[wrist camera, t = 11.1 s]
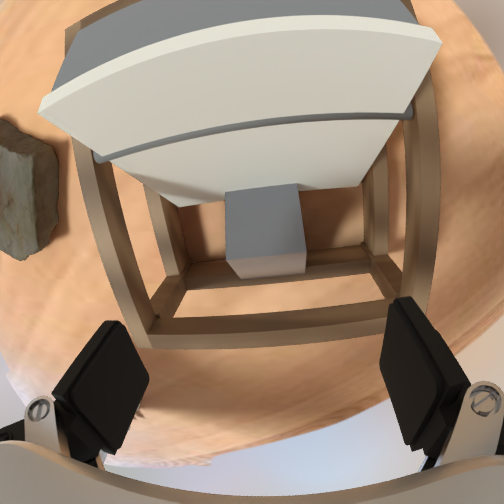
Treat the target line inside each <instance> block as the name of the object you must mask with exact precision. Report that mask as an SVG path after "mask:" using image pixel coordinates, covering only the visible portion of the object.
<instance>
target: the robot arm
mask: <svg viewBox="0 0 504 504" xmlns="http://www.w3.org/2000/svg"><path fill="white" fill-rule="evenodd" d="M380 370H381V373H382V376H383V379H384V382H385V384H386V387H387V390H388V393H389V396H390V399H391V402H392V405H393V408H394V411H395V414H396V417H397V420H398V423H399V426H400V430H401V433H402V436H403V439H404V443H405V444H406V445H410V447H411V450H412V452H413V451H416V450H419V449H422V448H423V451H424V454H425V455H426V457H425V459H424V461H423V463H422V465H421V467H420V469H419V471H418V473H415V474H411V475H408V476H405V477H401V478H397V479H393V480H390V481H386V482H381V483H377V484H372V485H368V486H363V487H357V488H352V489H346V490H341V491H334V492H326V493H318V494H308V495H295V496H264V497H263V496H232V495H219V494H208V493H201V492H193V491H186V490H180V489H174V488H169V487H164V486H159V485H155V484H150V483H146V482H142V481H138V480H134V479H131V478H127V477H123V476H120V475H116V474H114V473H111V472H107V471H105V468H104V465H103V463H104V461H105V458H106V456H107V454H108V453H109V454H112V455H115V454H116V451H117V449H119V448H121V446H122V444H123V441H124V439H125V436H126V434H127V432H128V430H130V424H131V422H132V420H133V417H134V415H135V413H136V411H138V409H139V407H140V404H141V399H142V397H143V395H144V392H145V390H146V388H147V386H148V383H149V375H148V372H147V371H146V369H145V367H144V365H143V363H142V361H141V359H140V357H139V355H138V353H137V351H136V349H135V347H134V344H133V342H132V340H131V338H130V336H129V334H128V332H127V329H126V327H125V326H124V325H122V323H121V322H120V321H110V320H107V321H104V322H103V323H102V325H101V326H100V327H99V328H98V330H97V331H96V332H95V334H94V335H93V336H92V338H91V339H90V340H89V341H88V343H87V344H86V345H85V347H84V348H83V349H82V351H81V352H80V353H79V355H78V356H77V358H76V359H75V360H74V362H73V363H72V364H71V366H70V367H69V369H68V370H67V371H66V373H65V374H64V376H63V377H62V378H61V380H60V381H59V383H58V384H57V386H56V387H55V388H54V390H53V391H52V393H51V394H52V395H53V396H54V397H55V399H56V400H55V402H53V400H52V399H51V398H50V397H48V396H40V397H37V398H35V399H33V400H32V401H31V402H30V403H29V404H28V406H27V408H26V410H25V416H24V417H25V419H23V420H20V421H18V422H16V423H13V424H11V425H8V426H6V427H3V428H1V429H0V504H504V393H503V391H502V390H501V389H500V388H499V387H498V386H497V385H496V384H494V383H491V382H487V381H481V382H477V383H475V384H473V385H471V383H470V382H469V380H468V378H467V376H466V375H465V373H464V371H463V370H462V368H461V366H460V365H459V363H458V361H457V360H456V358H455V357H454V355H453V353H452V352H451V350H450V349H449V347H448V346H447V344H446V343H445V341H444V340H443V338H442V337H441V335H440V334H439V332H438V331H437V330H435V329H434V327H433V326H432V324H431V323H430V322H429V320H428V319H427V317H426V316H425V314H424V313H423V312H422V310H421V309H420V307H419V306H418V305H417V303H416V302H415V300H414V299H413V298H412V297H411V296H406V297H400V298H395V299H394V301H393V303H391V304H389V307H388V314H387V321H386V328H385V334H384V340H383V346H382V351H381V356H380Z"/></svg>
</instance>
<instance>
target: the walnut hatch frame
mask: <svg viewBox="0 0 504 504" xmlns="http://www.w3.org/2000/svg"><path fill="white" fill-rule="evenodd" d="M139 1H142V0H118V1H116V2H114V3H112V4H110V5H108V6H106V7H104V8H102V9H100V10H98V11H96V12H94V13H92V14H90V15H89V16H87V17H85V18H83V19H82V20H80V21H78V22H77V23H75V24H73V25H72V26H70V27H68V28H67V29H65V57H66V55H67V52H68V50H69V48H70V46H71V44H72V42H73V40H74V38H75V36H76V34H77V32H78V31H80V30H81V29H83V28H85V27H87V26H89V25H90V24H92V23H94V22H96V21H98V20H100V19H102V18H104V17H106V16H108V15H110V14H112V13H114V12H116V11H118V10H121V9H123V8H125V7H127V6H130V5H132V4H135V3H137V2H139ZM400 1H401V2H402V3H403V4H404V5H405V7H406V8H407V9H408V10H409V12H410V13H411V14H412V15H413V17H414V18H415V19H416V21H417V18H416V15H415V12H414V9H413V6H412V3H411V1H410V0H400ZM417 22H418V21H417ZM410 103H411V105H412V108H413V116H412V119H411V120H402V122H403V132H404V144H405V159H406V192H407V202H406V235H405V251H404V263H403V273H402V272H401V270H400V269H399V268H398V267H397V265H396V264H395V263H394V262H393V260H392V259H391V258H390V257H389V256H388V227H389V193H388V167H387V151H386V143H385V145H384V146H383V148H382V149H381V151H380V153H379V154H378V156H377V157H376V159H375V160H374V162H373V164H372V165H371V167H370V168H369V170H368V171H367V173H366V174H365V176H364V178H363V179H362V185H363V210H364V242H361V246H352V247H343V248H333V249H324V250H314V251H307V253H306V266H305V274H296V275H286V276H275V277H265V278H254V279H243V280H241V279H240V277H239V276H238V275H237V274H236V272H235V271H234V270H233V268H232V267H231V266H230V265H229V263H228V262H227V261H226V260H216V261H206V262H195V263H193V261H192V260H189V257H188V253H187V249H186V245H185V241H184V237H183V232H182V228H181V224H180V219H179V215H178V210H177V206H176V205H175V204H174V203H172V202H170V201H169V200H167V199H166V198H164V197H163V196H161V195H160V194H158V193H157V192H155V191H154V190H152V189H151V188H149V187H148V186H146V185H145V184H143V186H144V191H145V195H146V200H147V204H148V208H149V212H150V216H151V221H152V225H153V228H154V232H155V236H156V240H157V244H158V247H159V251H160V255H161V258H162V262H163V265H164V269H165V272H166V275H167V277H166V278H165V279H164V281H163V282H162V284H161V285H160V287H159V288H158V289H157V291H156V292H155V294H154V295H153V297H152V298H151V299H150V300H149V297H148V294H147V292H146V289H145V286H144V283H143V280H142V277H141V274H140V271H139V268H138V265H137V261H136V258H135V255H134V252H133V248H132V245H131V242H130V238H129V235H128V231H127V227H126V224H125V220H124V216H123V212H122V208H121V204H120V200H119V196H118V191H117V187H116V183H115V178H114V173H113V168H112V163H111V162H110V161H107V162H104V163H101V164H99V163H97V162H96V161H95V159H94V155H93V150H92V149H90V148H89V147H87V146H86V145H84V144H82V143H81V142H79V141H78V140H76V139H75V138H73V137H72V136H71V137H72V144H73V150H74V155H75V161H76V166H77V171H78V176H79V181H80V185H81V189H82V194H83V198H84V202H85V206H86V210H87V213H88V217H89V221H90V224H91V228H92V231H93V235H94V238H95V241H96V244H97V247H98V251H99V254H100V257H101V260H102V262H103V265H104V268H105V271H106V274H107V277H108V279H109V282H110V285H111V287H112V290H113V292H114V295H115V298H116V300H117V302H118V305H119V307H120V310H121V312H122V314H123V317H124V319H125V321H126V324H127V326H128V328H129V330H130V333H131V335H132V337H133V339H134V341H135V343H136V345H137V347H138V348H151V349H238V348H259V347H274V346H287V345H298V344H309V343H318V342H327V341H335V340H342V339H350V338H356V337H363V336H369V335H376V334H381V333H385V328H386V321H387V314H388V307H389V304H391V303H393V301H394V299H395V298H400V297H406V296H411V297H412V298H413V299H414V300H415V302H416V303H417V305H418V306H419V307H420V309H421V310H422V312H423V313H424V314H425V315H426V310H427V305H428V300H429V295H430V290H431V284H432V278H433V272H434V265H435V258H436V250H437V240H438V230H439V216H440V189H441V170H440V144H439V130H438V120H437V111H436V103H435V96H434V90H433V84H432V78H431V73H430V68H429V69H428V71H427V73H426V75H425V77H424V79H423V80H422V82H421V84H420V86H419V87H418V89H417V91H416V93H415V94H414V96H413V98H412V100H411V101H410ZM365 273H370V274H371V275H372V277H373V279H374V280H375V282H376V284H377V285H378V287H379V289H380V290H381V292H382V294H383V296H384V297H385V299H383V300H376V301H370V302H362V303H355V304H347V305H339V306H331V307H323V308H314V309H304V310H294V311H283V312H271V313H259V314H245V315H229V316H210V317H184V318H173V316H174V314H175V312H176V310H177V308H178V307H179V305H180V303H181V301H182V299H183V297H184V295H185V293H186V291H187V290H200V289H214V288H227V287H239V286H251V285H262V284H273V283H284V282H294V281H304V280H313V279H322V278H331V277H340V276H349V275H357V274H365Z"/></svg>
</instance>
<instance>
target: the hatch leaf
mask: <svg viewBox="0 0 504 504" xmlns="http://www.w3.org/2000/svg"><path fill="white" fill-rule="evenodd" d="M441 45H442V41H441V40H440V39H439V37H438V36H437V34H436V33H435V32H434V30H433V29H432V28H430V27H426V26H421V25H419V23H418V22H417V21H416V19H415V18H414V17H413V15H412V14H411V13H410V12H409V10H408V9H407V8H406V7H405V5H404V4H403V3H402V2H401V1H400V0H142V1H139V2H137V3H135V4H132V5H130V6H127V7H125V8H123V9H121V10H118V11H116V12H114V13H112V14H110V15H108V16H106V17H104V18H102V19H100V20H98V21H96V22H94V23H92V24H90V25H89V26H87V27H85V28H83V29H81V30H80V31H78V32H77V34H76V36H75V38H74V40H73V42H72V44H71V46H70V48H69V50H68V52H67V55H66V57H65V59H64V61H63V64H62V66H61V68H60V71H59V73H58V75H57V78H56V81H55V83H54V86H53V88H52V91H51V93H49V94H48V95H46V96H45V97H43V99H42V102H41V105H40V108H39V111H38V114H39V115H40V116H42V117H43V118H45V119H46V120H48V121H49V122H51V123H52V124H54V125H55V126H57V127H58V128H60V129H61V130H63V131H64V132H66V133H67V134H69V135H70V136H72V137H73V138H75V139H76V140H78V141H79V142H81V143H82V144H84V145H86V146H87V147H89V148H90V149H92V150H93V155H94V159H95V161H96V162H97V163H99V164H101V163H104V162H107V161H110V162H111V163H113V164H114V165H116V166H117V167H119V168H120V169H122V170H123V171H125V172H126V173H128V174H129V175H131V176H132V177H134V178H136V179H137V180H139V181H140V182H142V183H143V184H145V185H146V186H148V187H149V188H151V189H152V190H154V191H155V192H157V193H158V194H160V195H161V196H163V197H164V198H166V199H167V200H169V201H170V202H172V203H174V204H175V205H177V206H178V207H184V206H190V205H197V204H203V203H210V202H217V201H224V200H225V192H229V191H236V190H244V189H251V188H259V187H267V186H276V185H285V184H294V183H297V188H298V191H308V190H319V189H330V188H343V187H356V186H358V185H359V184H360V182H361V181H362V179H363V178H364V176H365V174H366V173H367V171H368V170H369V168H370V167H371V165H372V164H373V162H374V160H375V159H376V157H377V156H378V154H379V153H380V151H381V149H382V148H383V146H384V145H385V143H386V141H387V140H388V138H389V137H390V135H391V133H392V132H393V130H394V128H395V127H396V125H397V123H398V122H399V120H411V119H412V116H413V108H412V105H411V103H410V101H411V100H412V98H413V96H414V94H415V93H416V91H417V89H418V87H419V86H420V84H421V82H422V80H423V79H424V77H425V75H426V73H427V71H428V69H429V68H430V66H431V64H432V62H433V60H434V58H435V56H436V55H437V53H438V51H439V49H440V47H441Z"/></svg>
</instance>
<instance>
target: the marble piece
mask: <svg viewBox="0 0 504 504" xmlns="http://www.w3.org/2000/svg"><path fill="white" fill-rule="evenodd" d="M58 187H59V162H58V160H57V157H56V155H55V153H54V150H53V148H52V147H51V146H49V145H47V144H44V143H43V142H42V141H40V140H38V139H34V138H32V137H31V136H30V135H27V134H23V133H22V132H20V131H19V130H18V129H17V128H16V127H14V126H13V125H11V124H10V123H9V122H8V121H5V120H1V119H0V250H1V251H3V252H5V253H6V254H9V255H10V256H11V257H12V258H15V259H16V260H19V261H22V260H26V259H27V258H28V257H29V255H32V254H35V253H37V252H39V251H41V250H42V249H43V248H44V247H45V246H46V245H47V244H48V243H49V236H50V233H51V232H52V229H53V228H54V227H55V225H56V224H57V223H58V222H59V217H58V213H57V199H58V196H59V191H58Z"/></svg>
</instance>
